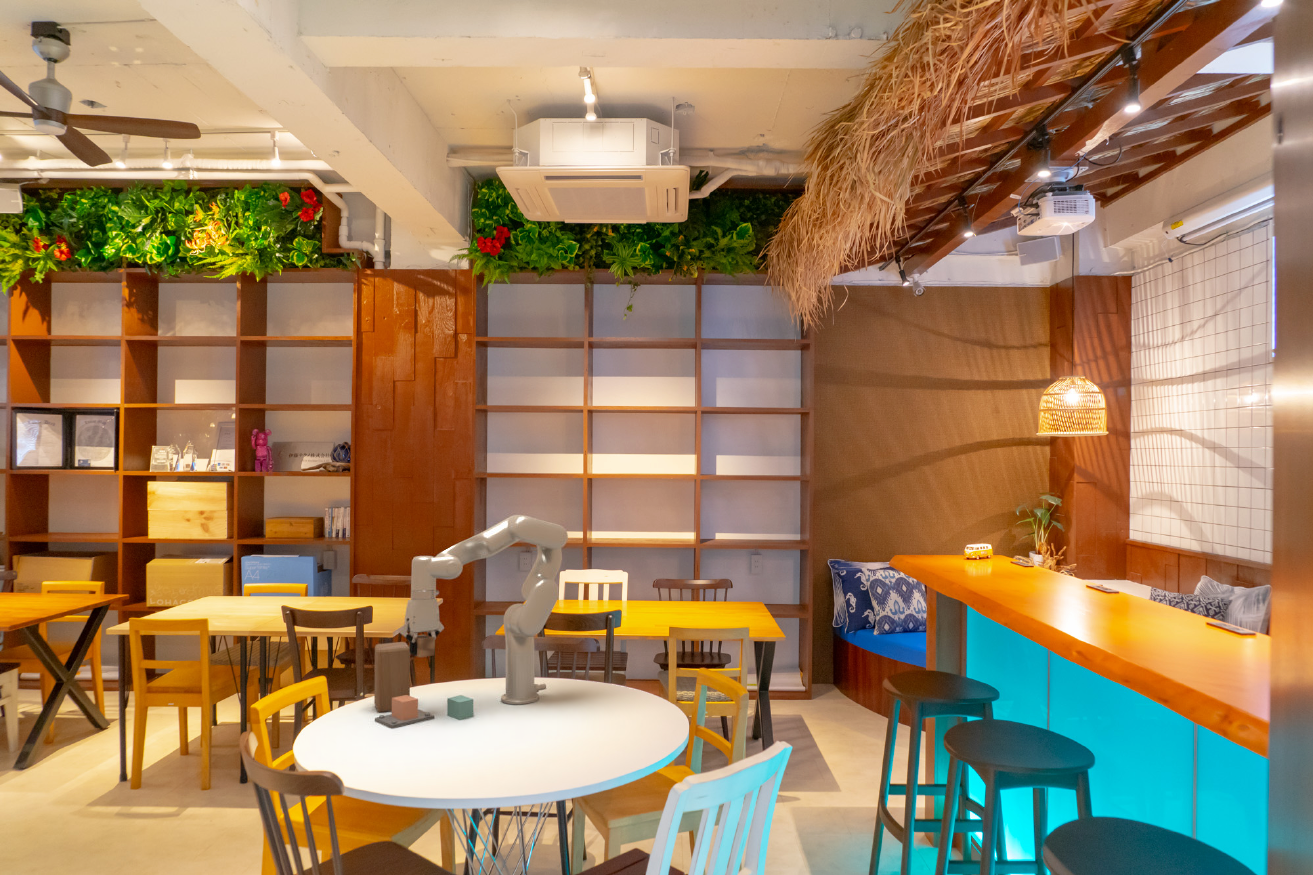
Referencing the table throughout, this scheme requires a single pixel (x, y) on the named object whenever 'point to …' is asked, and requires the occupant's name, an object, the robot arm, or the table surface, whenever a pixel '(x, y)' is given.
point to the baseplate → (402, 723)
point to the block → (391, 674)
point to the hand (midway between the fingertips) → (421, 652)
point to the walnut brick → (425, 646)
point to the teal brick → (460, 707)
